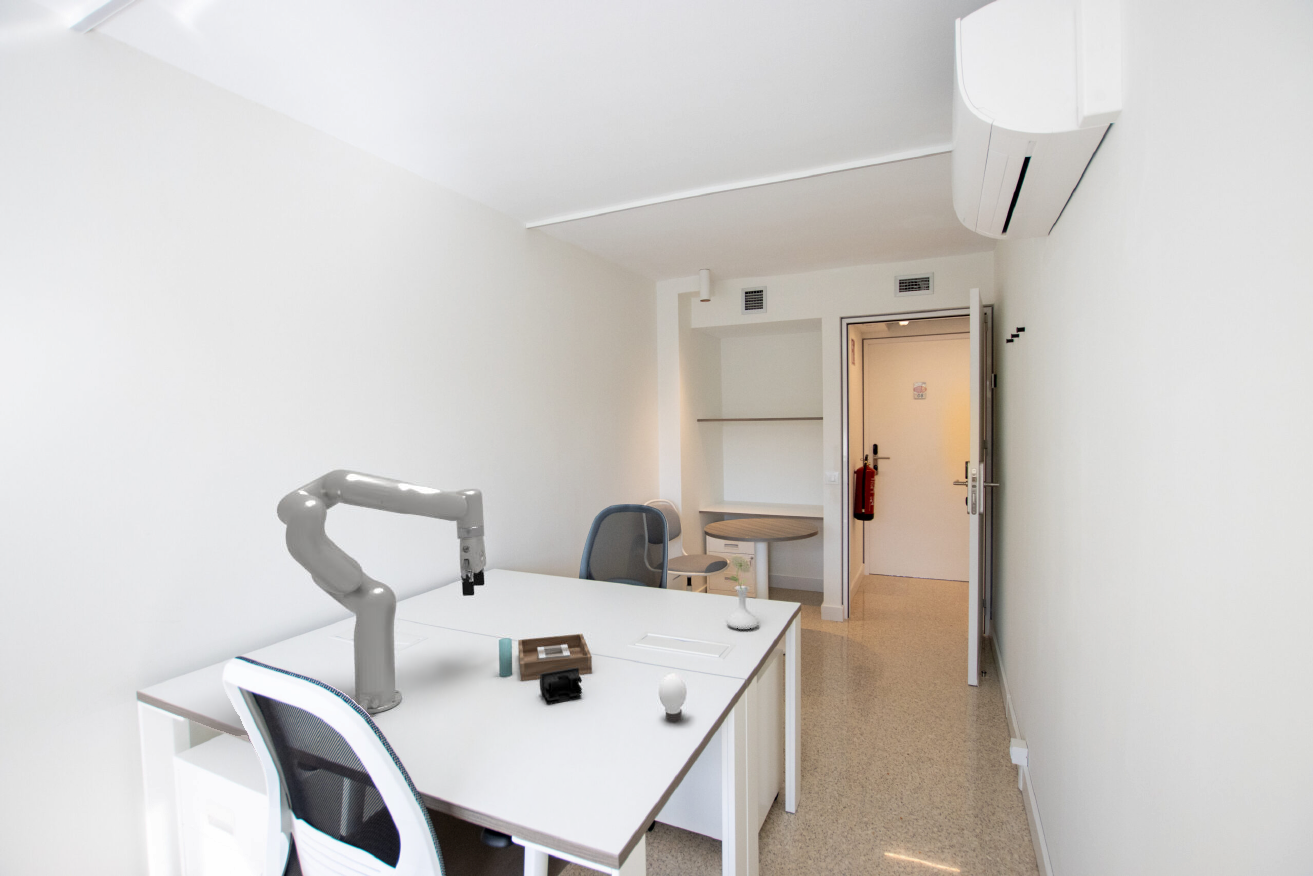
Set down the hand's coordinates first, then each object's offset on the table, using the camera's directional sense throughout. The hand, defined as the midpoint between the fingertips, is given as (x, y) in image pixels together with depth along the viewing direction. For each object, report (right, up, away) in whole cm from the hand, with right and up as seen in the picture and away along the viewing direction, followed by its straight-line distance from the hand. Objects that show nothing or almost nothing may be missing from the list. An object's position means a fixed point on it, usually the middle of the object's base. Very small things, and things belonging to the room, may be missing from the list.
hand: (473, 590), depth 182 cm
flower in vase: (+83, -22, +39) cm, 94 cm away
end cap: (+28, -24, -17) cm, 41 cm away
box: (+22, -24, +6) cm, 33 cm away
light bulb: (+57, -24, -30) cm, 69 cm away
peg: (+10, -24, -2) cm, 26 cm away
